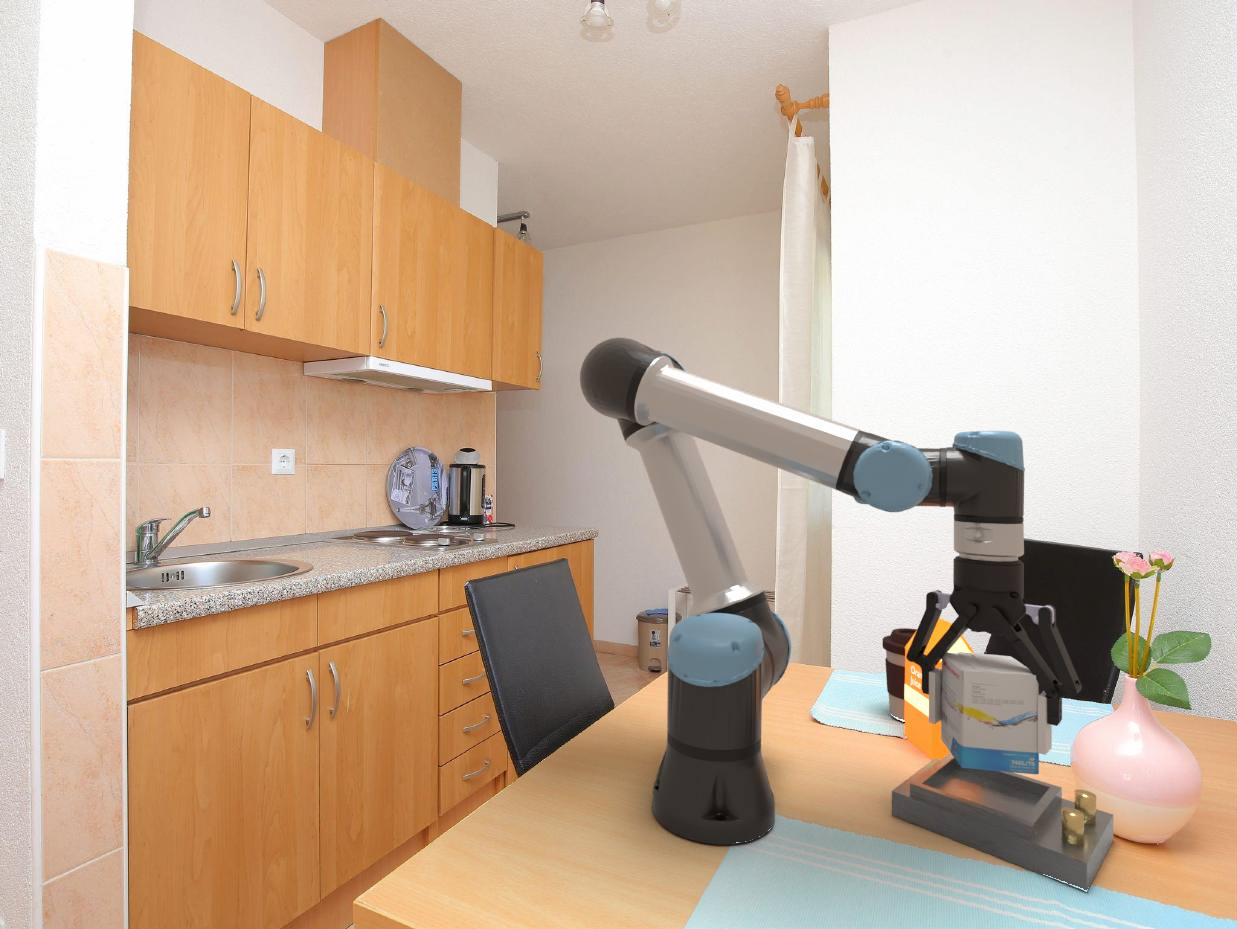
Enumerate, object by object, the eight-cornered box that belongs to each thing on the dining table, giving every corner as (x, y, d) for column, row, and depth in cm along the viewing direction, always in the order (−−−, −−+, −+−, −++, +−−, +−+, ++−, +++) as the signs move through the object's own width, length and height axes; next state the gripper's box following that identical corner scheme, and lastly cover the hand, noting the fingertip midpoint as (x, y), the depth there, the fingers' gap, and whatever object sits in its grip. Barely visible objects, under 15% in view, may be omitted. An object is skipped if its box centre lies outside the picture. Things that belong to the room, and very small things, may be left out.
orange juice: (950, 736, 105) (951, 613, 106) (982, 760, 97) (983, 626, 97) (902, 736, 105) (904, 613, 105) (930, 760, 96) (932, 625, 97)
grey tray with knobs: (891, 815, 80) (892, 766, 80) (934, 779, 90) (935, 736, 90) (1086, 892, 66) (1087, 833, 66) (1113, 840, 76) (1113, 788, 76)
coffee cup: (873, 719, 112) (874, 632, 112) (892, 704, 120) (893, 623, 120) (935, 734, 106) (935, 643, 106) (950, 718, 113) (951, 632, 114)
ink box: (1040, 776, 74) (1041, 674, 74) (960, 768, 76) (960, 669, 76) (1011, 745, 82) (1011, 654, 83) (939, 739, 84) (939, 649, 84)
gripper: (879, 549, 85) (878, 715, 85) (1100, 570, 68) (1099, 778, 68) (903, 546, 91) (902, 702, 90) (1113, 564, 73) (1113, 757, 73)
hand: (987, 735), depth 79 cm, fingers closed on ink box, 11 cm apart
